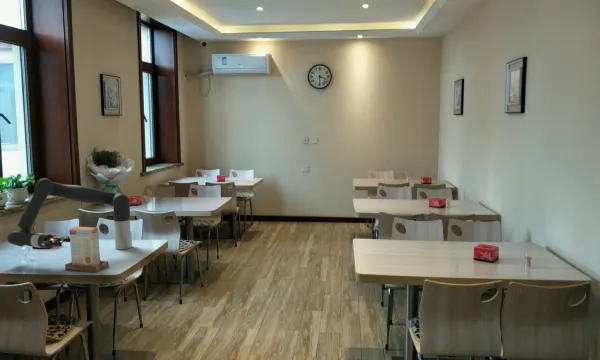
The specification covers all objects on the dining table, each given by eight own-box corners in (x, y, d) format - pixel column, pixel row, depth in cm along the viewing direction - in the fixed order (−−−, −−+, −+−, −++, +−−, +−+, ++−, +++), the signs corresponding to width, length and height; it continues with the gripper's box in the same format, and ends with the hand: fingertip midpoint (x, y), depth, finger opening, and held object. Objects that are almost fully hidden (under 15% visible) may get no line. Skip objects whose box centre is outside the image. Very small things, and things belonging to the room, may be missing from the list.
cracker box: (101, 266, 266) (98, 227, 264) (93, 269, 260) (90, 229, 258) (79, 264, 271) (77, 225, 268) (71, 267, 265) (68, 228, 262)
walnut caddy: (79, 264, 273) (79, 259, 273) (108, 266, 268) (108, 261, 268) (65, 270, 263) (64, 264, 263) (95, 272, 258) (94, 267, 258)
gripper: (31, 236, 264) (56, 238, 260) (51, 230, 278) (76, 232, 273) (32, 250, 265) (57, 252, 261) (52, 244, 279) (77, 245, 274)
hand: (67, 242), depth 267 cm, fingers open, 8 cm apart
